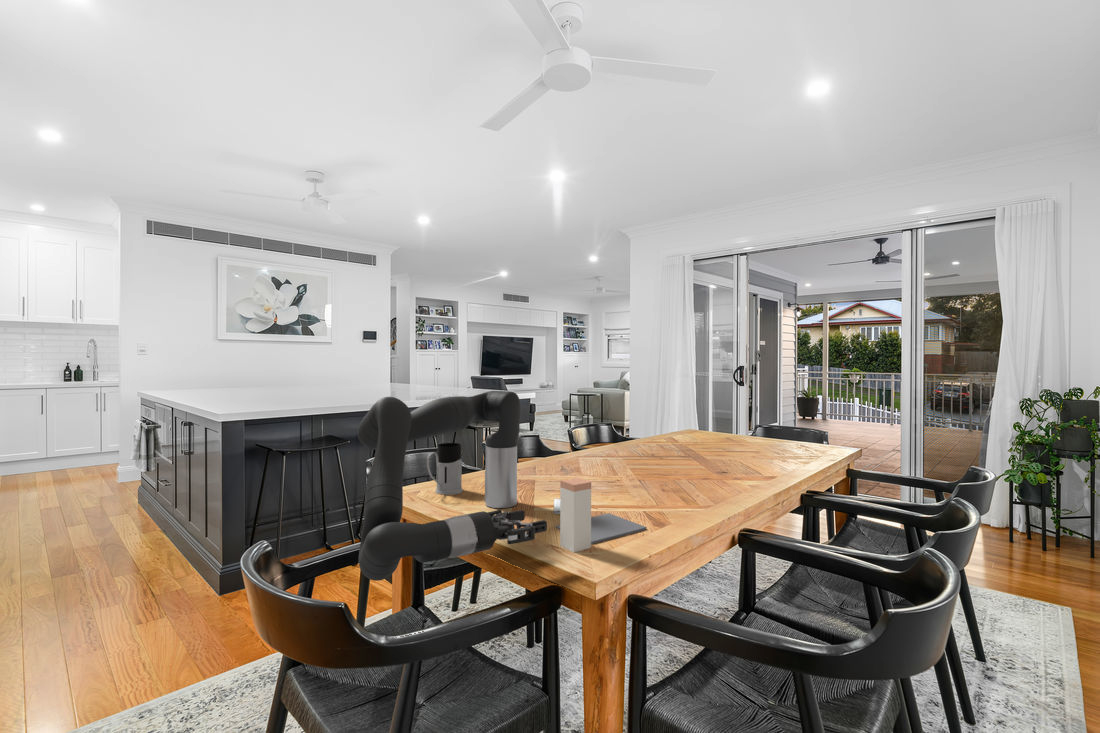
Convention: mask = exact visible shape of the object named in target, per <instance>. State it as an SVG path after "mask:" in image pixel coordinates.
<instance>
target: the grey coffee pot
mask: <svg viewBox="0 0 1100 733" xmlns="http://www.w3.org/2000/svg"><path fill="white" fill-rule="evenodd" d="M436 447H437V452H434V451H433V452H432V451H431V452H430V453H428V454H427V458H426V468H427V471H428V472H427V473H428V474H429V477H430V478H431V479H432V480H433V481H434V482H435V483H436V489H435V491H434V493H436V494H437V495H441V496H442V495H443V496H449V495H451V496H452V495H458V494H462V493H463V491H464V489H463V487H462V484H463V483H462V464H463V463H462V462H463V461H462V457H463V456H462V444H461V443H458V442H444V443H439V444H437V446H436ZM433 454H434V456H435V461H436V462H435V463H436V478H435V477H434V476H433V474H432V472H431V468H430V458H431V456H432V455H433Z"/></svg>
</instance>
